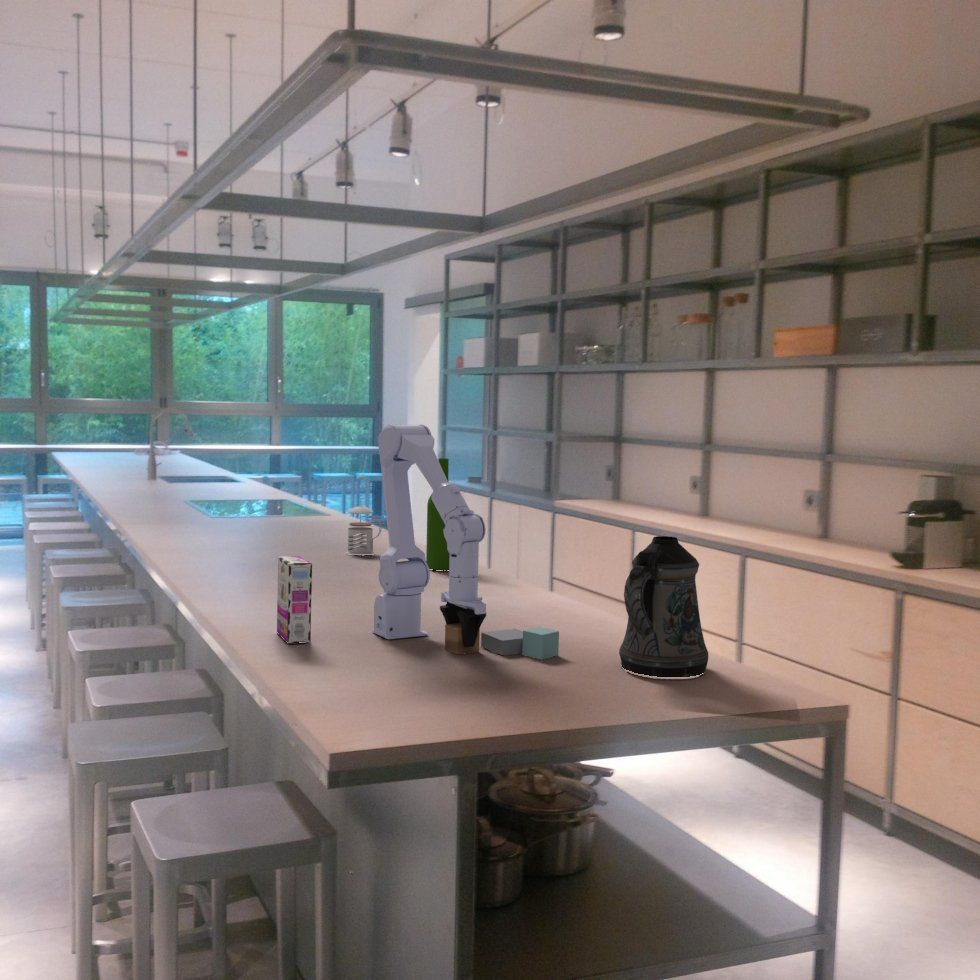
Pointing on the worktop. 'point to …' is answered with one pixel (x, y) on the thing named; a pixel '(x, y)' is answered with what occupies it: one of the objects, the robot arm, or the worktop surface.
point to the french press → (361, 531)
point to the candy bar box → (294, 599)
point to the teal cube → (540, 643)
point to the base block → (503, 641)
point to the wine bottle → (437, 532)
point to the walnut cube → (458, 640)
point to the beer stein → (663, 613)
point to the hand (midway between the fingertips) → (462, 643)
